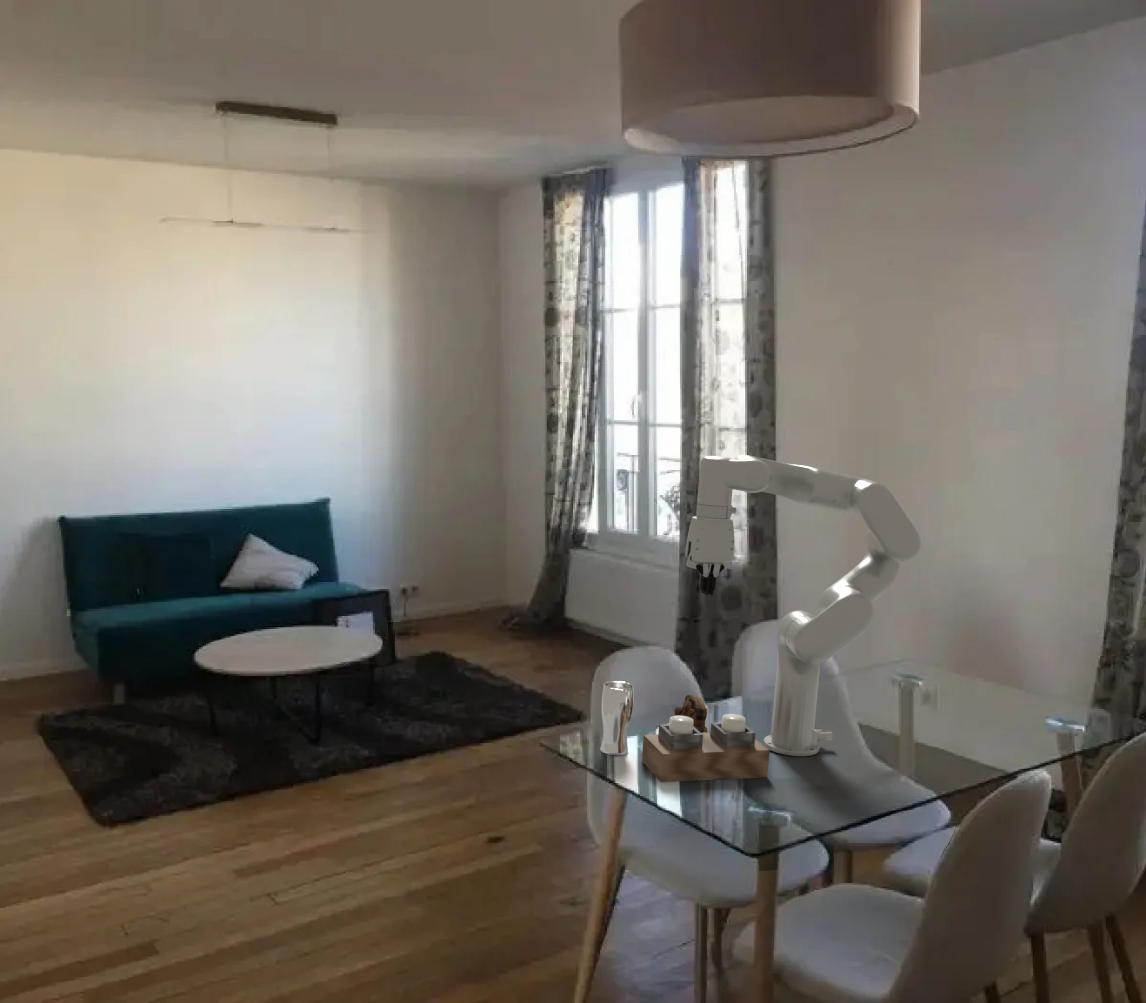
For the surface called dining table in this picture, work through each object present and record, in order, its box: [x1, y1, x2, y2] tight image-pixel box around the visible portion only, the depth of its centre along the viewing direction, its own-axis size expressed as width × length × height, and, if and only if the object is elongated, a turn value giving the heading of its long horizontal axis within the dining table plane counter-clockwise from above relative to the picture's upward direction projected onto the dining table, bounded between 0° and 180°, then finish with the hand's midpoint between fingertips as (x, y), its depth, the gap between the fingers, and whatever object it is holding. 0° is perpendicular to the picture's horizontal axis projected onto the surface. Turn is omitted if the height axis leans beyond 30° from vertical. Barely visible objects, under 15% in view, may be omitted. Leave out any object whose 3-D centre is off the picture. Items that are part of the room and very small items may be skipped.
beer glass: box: [600, 680, 635, 757], centre depth 260 cm, size 7×7×15 cm
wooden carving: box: [673, 694, 708, 733], centre depth 272 cm, size 16×5×10 cm, turn 18°
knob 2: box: [721, 713, 747, 733], centre depth 254 cm, size 5×5×5 cm
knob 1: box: [669, 715, 694, 734], centre depth 250 cm, size 5×5×5 cm
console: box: [641, 722, 771, 783], centre depth 253 cm, size 24×12×9 cm, turn 106°
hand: (707, 593), depth 264 cm, fingers closed
